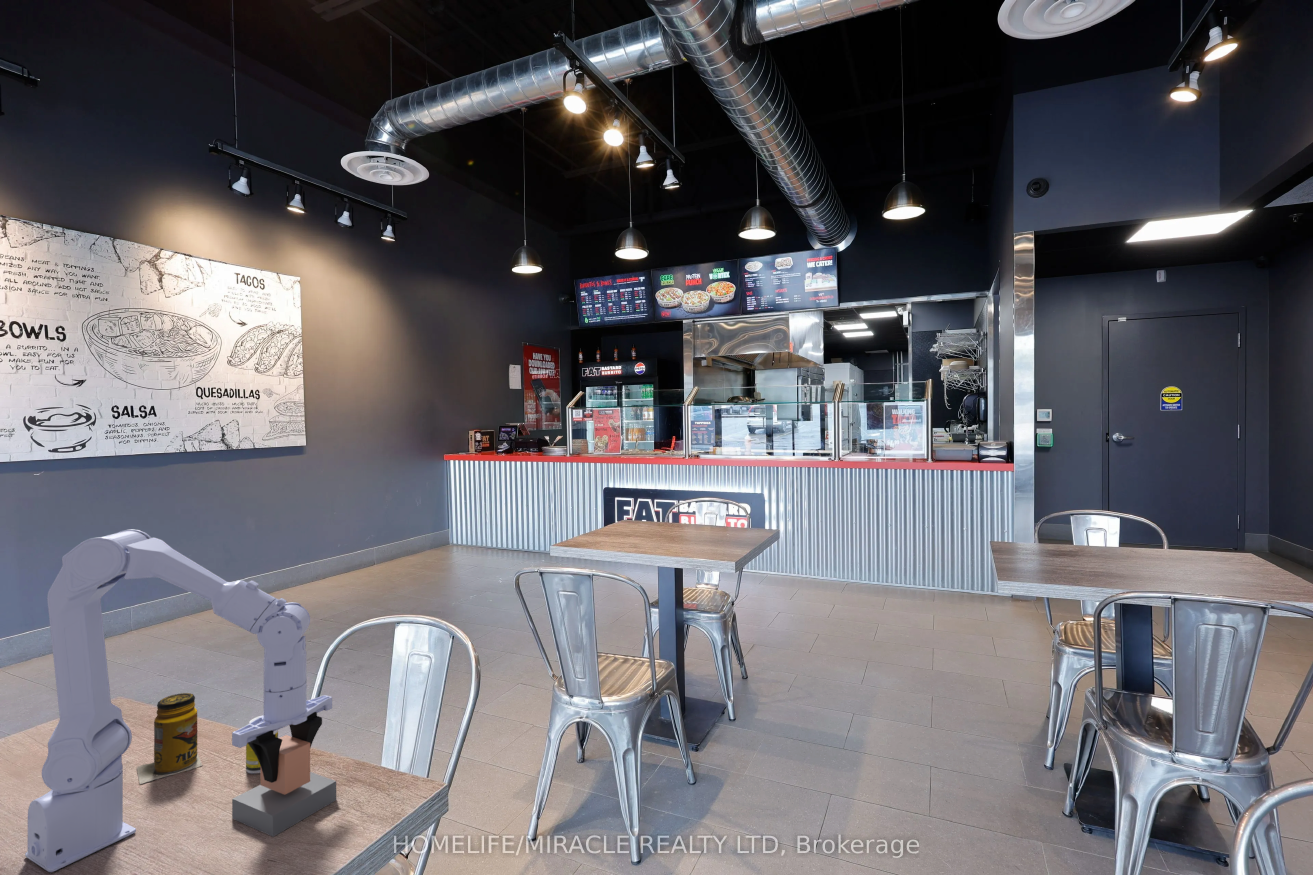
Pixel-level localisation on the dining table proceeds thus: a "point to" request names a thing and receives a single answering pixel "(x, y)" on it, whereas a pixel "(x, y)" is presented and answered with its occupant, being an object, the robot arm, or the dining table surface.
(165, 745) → the condiment
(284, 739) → the top brick
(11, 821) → the dining table surface
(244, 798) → the base brick
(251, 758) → the supplement bottle
